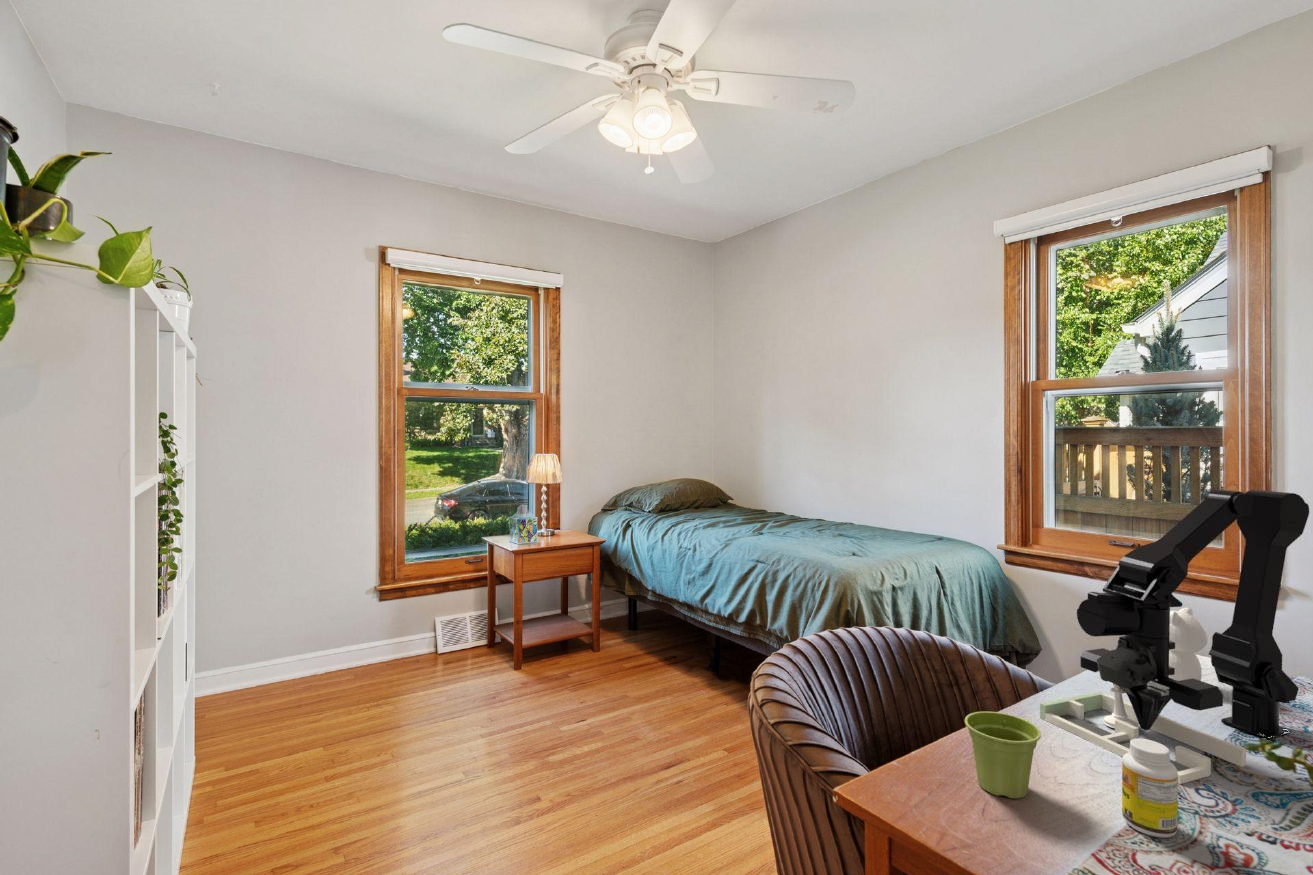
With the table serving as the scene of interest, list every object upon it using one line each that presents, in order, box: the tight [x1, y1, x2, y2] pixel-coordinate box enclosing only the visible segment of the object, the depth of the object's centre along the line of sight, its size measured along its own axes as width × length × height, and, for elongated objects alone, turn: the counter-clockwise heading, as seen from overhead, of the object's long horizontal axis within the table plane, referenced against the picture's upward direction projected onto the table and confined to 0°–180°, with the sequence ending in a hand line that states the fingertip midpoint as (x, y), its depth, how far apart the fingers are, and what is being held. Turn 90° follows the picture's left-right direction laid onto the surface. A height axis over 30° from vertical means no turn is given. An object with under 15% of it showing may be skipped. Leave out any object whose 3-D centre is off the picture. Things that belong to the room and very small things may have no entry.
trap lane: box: [1039, 691, 1247, 785], centre depth 103 cm, size 14×22×2 cm, turn 19°
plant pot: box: [964, 711, 1042, 799], centre depth 90 cm, size 9×9×9 cm
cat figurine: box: [1169, 607, 1209, 681], centre depth 126 cm, size 9×12×15 cm
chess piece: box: [1102, 683, 1140, 730], centre depth 108 cm, size 5×5×10 cm
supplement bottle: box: [1121, 738, 1179, 838], centre depth 81 cm, size 6×6×10 cm
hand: (1145, 729), depth 104 cm, fingers closed, pressing on chess piece
